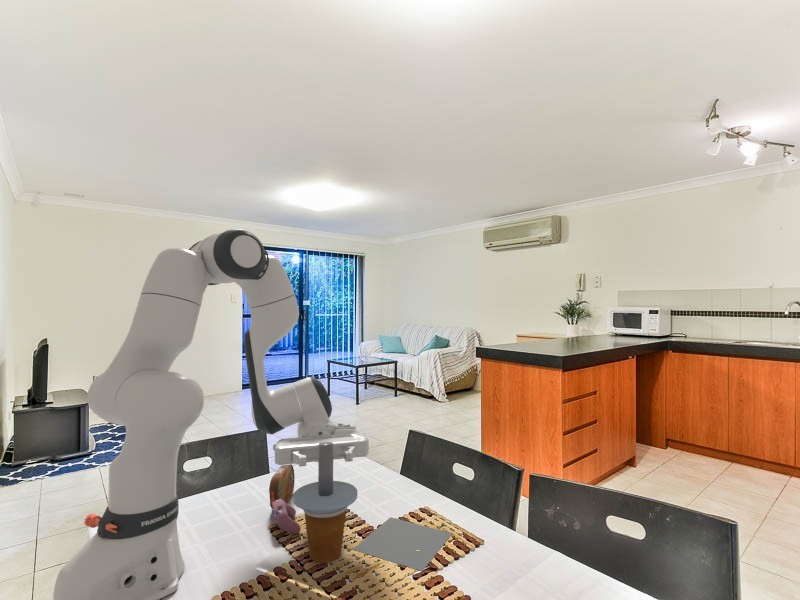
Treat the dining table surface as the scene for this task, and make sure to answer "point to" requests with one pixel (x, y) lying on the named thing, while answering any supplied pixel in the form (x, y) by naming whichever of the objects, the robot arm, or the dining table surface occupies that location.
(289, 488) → the tin
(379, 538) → the mat
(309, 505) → the lid
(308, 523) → the disposable coffee cup
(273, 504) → the video game controller
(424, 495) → the dining table surface
